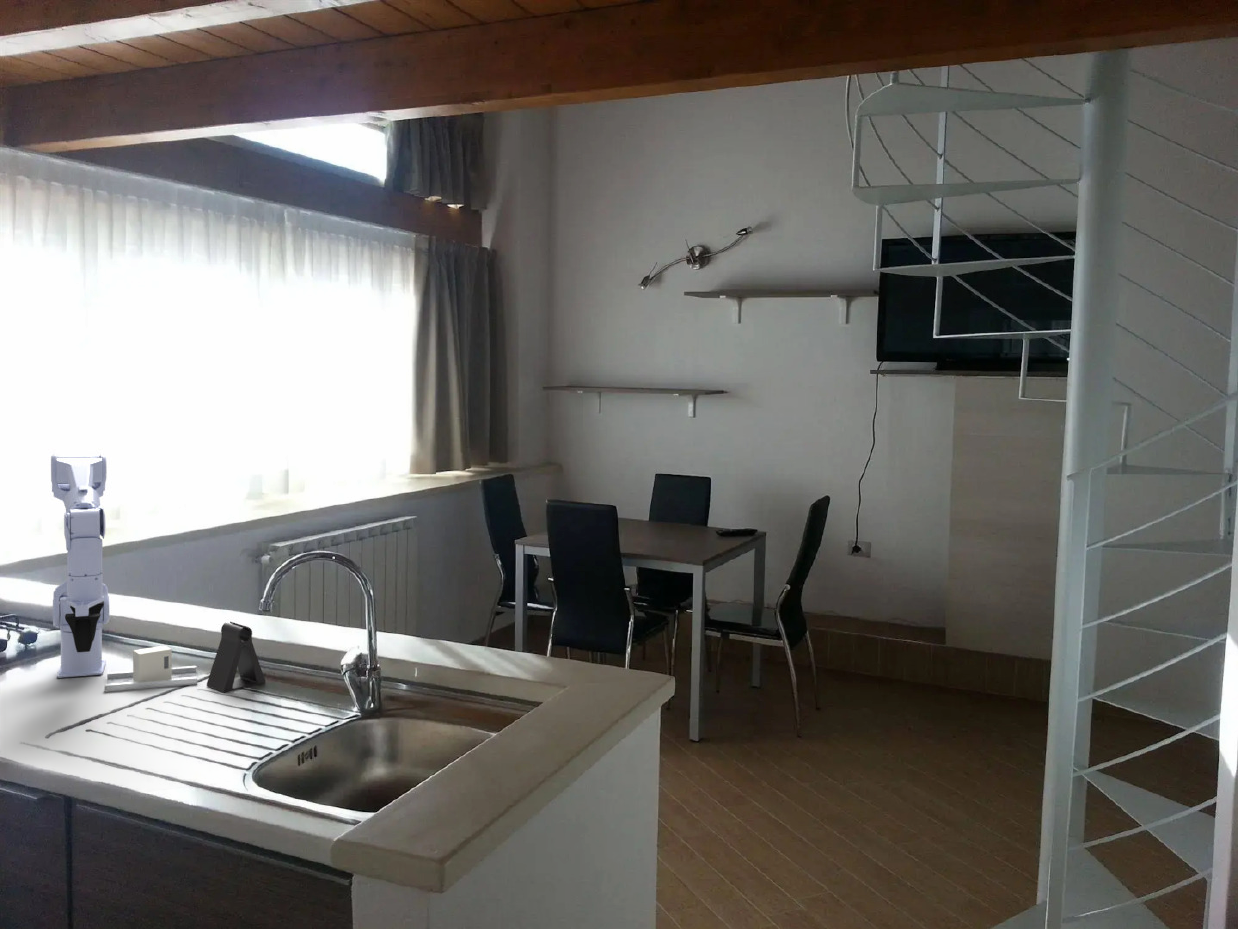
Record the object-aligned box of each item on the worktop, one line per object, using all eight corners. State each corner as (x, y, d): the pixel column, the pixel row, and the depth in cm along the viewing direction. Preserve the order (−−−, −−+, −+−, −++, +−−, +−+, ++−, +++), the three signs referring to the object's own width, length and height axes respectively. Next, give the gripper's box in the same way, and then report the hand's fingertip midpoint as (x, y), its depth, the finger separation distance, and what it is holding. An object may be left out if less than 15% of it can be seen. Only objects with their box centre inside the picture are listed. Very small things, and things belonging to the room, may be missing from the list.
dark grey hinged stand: (223, 693, 186) (223, 631, 185) (206, 686, 189) (206, 625, 188) (265, 683, 193) (266, 623, 192) (248, 676, 197) (248, 618, 196)
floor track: (107, 678, 192) (107, 672, 192) (196, 671, 199) (196, 665, 199) (104, 692, 184) (104, 685, 184) (197, 684, 191) (197, 678, 190)
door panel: (133, 680, 190) (133, 650, 190) (165, 675, 195) (165, 645, 194) (139, 684, 188) (139, 654, 188) (171, 679, 192) (171, 649, 192)
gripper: (64, 567, 184) (64, 638, 186) (55, 582, 171) (56, 658, 172) (106, 565, 187) (106, 635, 188) (101, 580, 174) (101, 655, 175)
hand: (85, 646), depth 181 cm, fingers open, 7 cm apart
